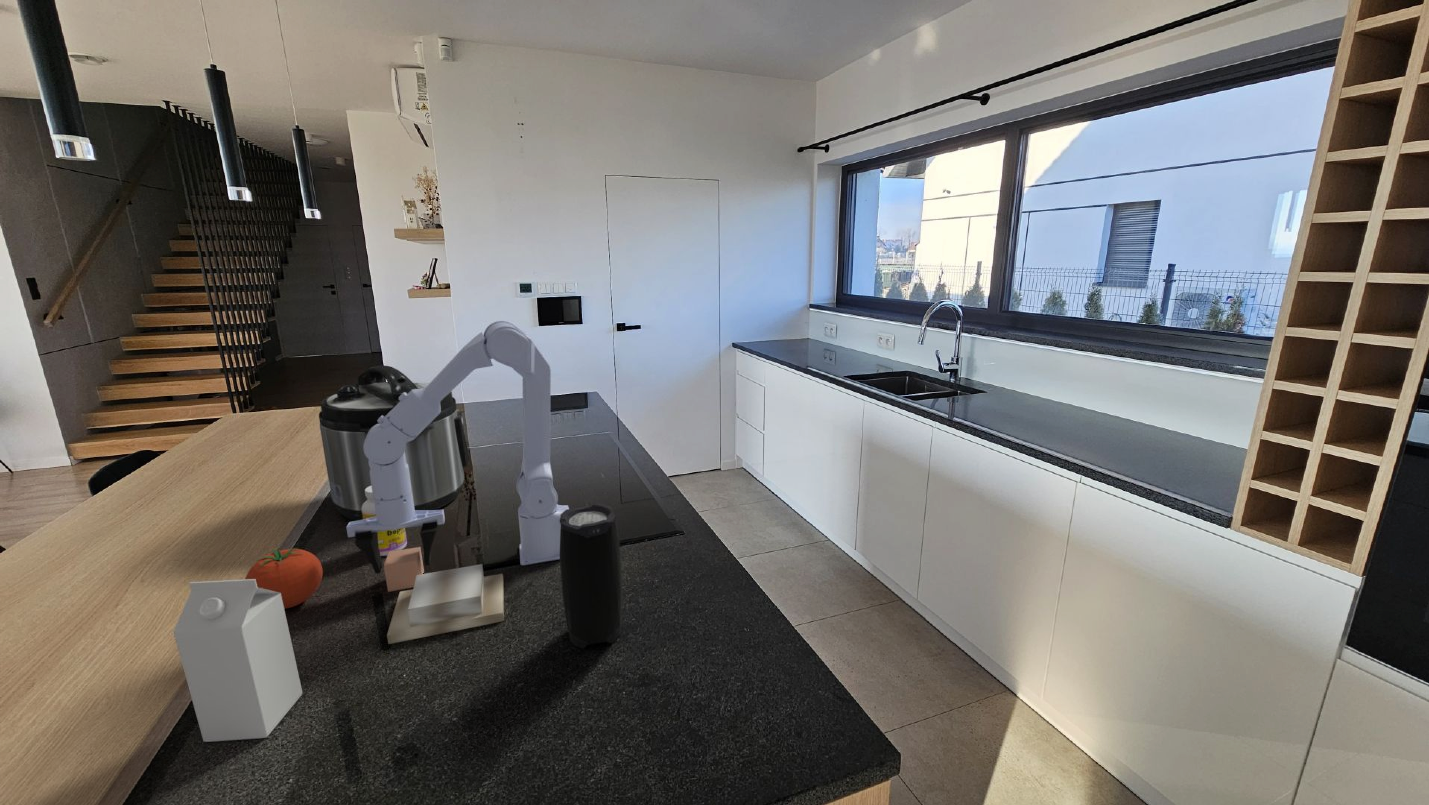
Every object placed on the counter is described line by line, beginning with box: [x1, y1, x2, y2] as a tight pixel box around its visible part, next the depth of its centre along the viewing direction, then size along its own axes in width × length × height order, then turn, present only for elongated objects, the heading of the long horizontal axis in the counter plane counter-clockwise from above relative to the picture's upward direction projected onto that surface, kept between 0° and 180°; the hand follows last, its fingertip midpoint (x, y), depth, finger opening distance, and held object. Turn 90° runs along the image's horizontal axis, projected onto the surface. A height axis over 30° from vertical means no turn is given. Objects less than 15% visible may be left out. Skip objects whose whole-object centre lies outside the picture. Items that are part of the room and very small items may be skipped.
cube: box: [383, 546, 425, 593], centre depth 101 cm, size 5×5×5 cm
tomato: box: [244, 547, 324, 610], centre depth 93 cm, size 10×10×10 cm
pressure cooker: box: [318, 365, 470, 521], centre depth 131 cm, size 30×28×32 cm
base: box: [386, 563, 505, 645], centre depth 92 cm, size 16×12×4 cm
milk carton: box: [173, 579, 303, 743], centre depth 69 cm, size 7×7×19 cm
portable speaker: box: [559, 502, 623, 650], centre depth 84 cm, size 9×9×20 cm
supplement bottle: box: [362, 486, 408, 557], centre depth 111 cm, size 7×7×13 cm
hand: (403, 566), depth 100 cm, fingers open, 7 cm apart
